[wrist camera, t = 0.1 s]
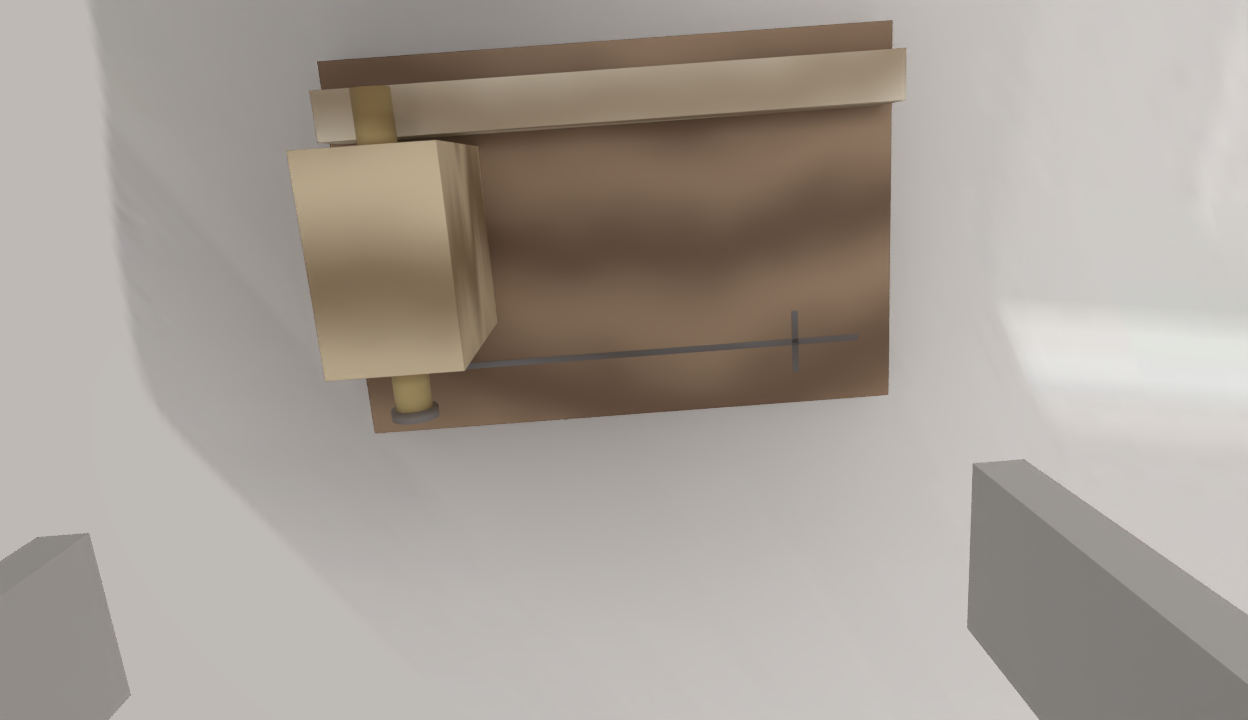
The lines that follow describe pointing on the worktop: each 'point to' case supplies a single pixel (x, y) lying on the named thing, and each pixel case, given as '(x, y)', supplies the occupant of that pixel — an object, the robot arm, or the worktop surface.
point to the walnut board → (661, 216)
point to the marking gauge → (394, 255)
